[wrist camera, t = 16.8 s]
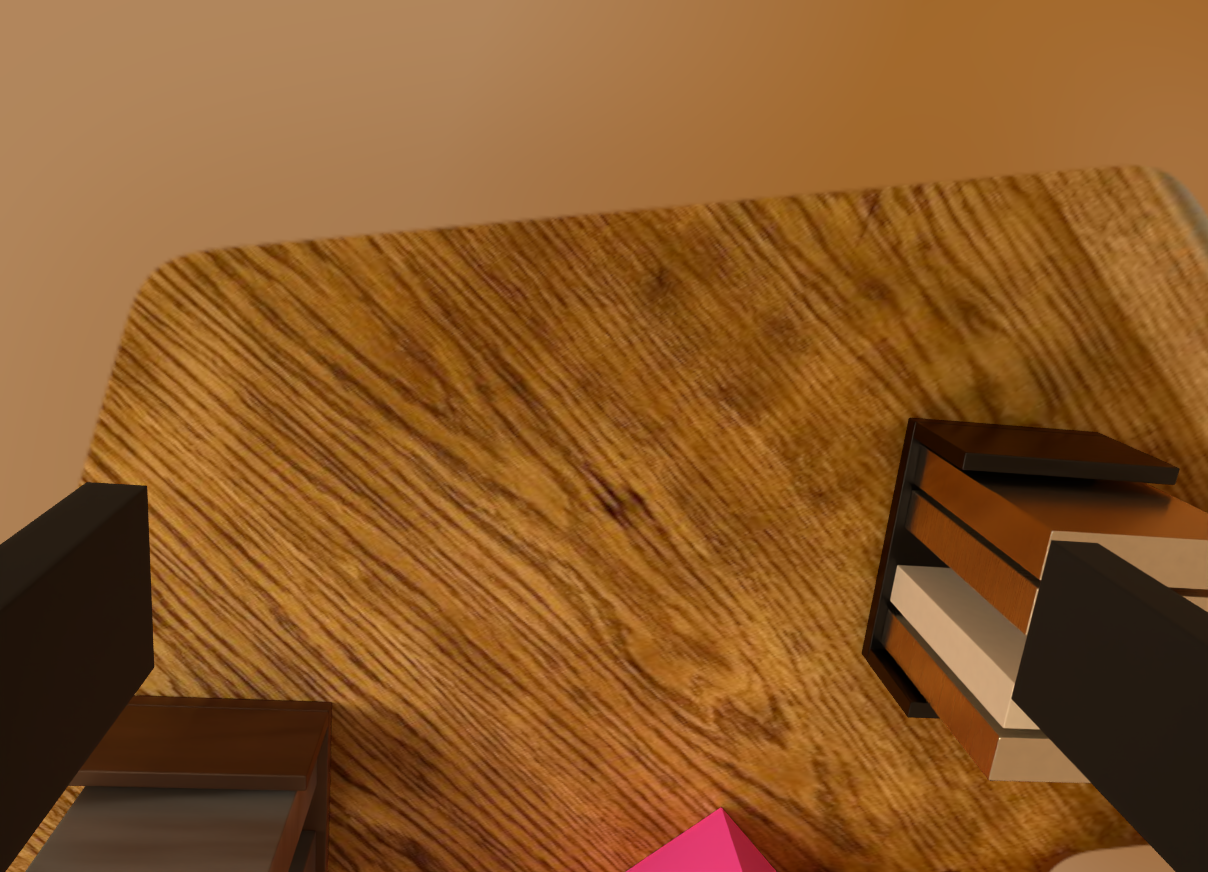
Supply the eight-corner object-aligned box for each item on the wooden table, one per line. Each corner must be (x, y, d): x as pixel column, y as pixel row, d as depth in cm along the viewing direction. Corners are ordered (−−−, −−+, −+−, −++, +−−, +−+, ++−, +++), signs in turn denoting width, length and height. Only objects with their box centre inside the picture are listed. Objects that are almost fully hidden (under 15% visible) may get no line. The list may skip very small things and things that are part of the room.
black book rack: (908, 417, 44) (1046, 501, 32) (1097, 432, 45) (1294, 518, 33) (861, 653, 47) (970, 804, 36) (1038, 661, 48) (1198, 809, 37)
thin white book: (896, 564, 45) (1014, 683, 34) (1063, 573, 46) (1226, 692, 35) (889, 600, 45) (1002, 729, 35) (1054, 609, 46) (1212, 736, 36)
